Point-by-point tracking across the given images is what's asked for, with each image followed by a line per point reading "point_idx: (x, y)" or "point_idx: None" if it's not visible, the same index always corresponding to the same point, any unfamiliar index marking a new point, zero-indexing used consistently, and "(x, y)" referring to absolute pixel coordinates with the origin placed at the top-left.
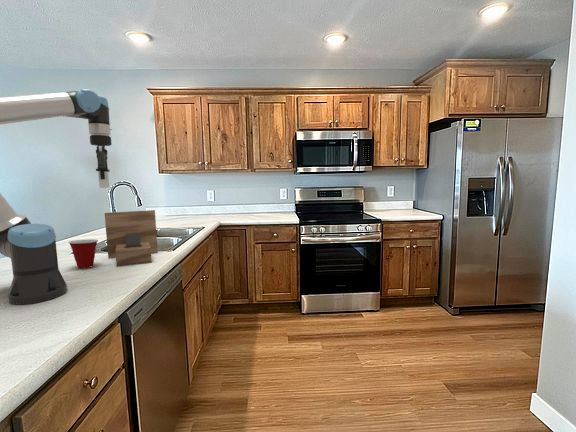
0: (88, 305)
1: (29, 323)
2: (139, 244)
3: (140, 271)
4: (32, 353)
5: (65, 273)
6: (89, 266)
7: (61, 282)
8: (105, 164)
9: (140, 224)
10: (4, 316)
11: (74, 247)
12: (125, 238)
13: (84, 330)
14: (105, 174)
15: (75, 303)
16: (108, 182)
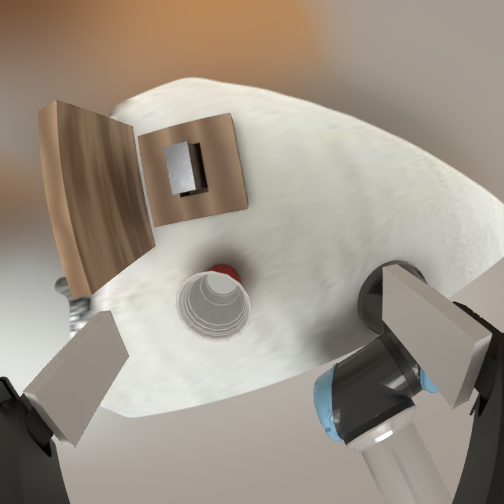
0: (454, 210)
1: (471, 263)
2: (196, 149)
3: (312, 141)
4: None
5: (267, 305)
6: (233, 269)
7: (410, 270)
8: (32, 489)
9: (91, 159)
10: None
11: (242, 317)
12: (198, 188)
13: (499, 200)
14: (467, 324)
15: (443, 230)
16: (93, 332)
